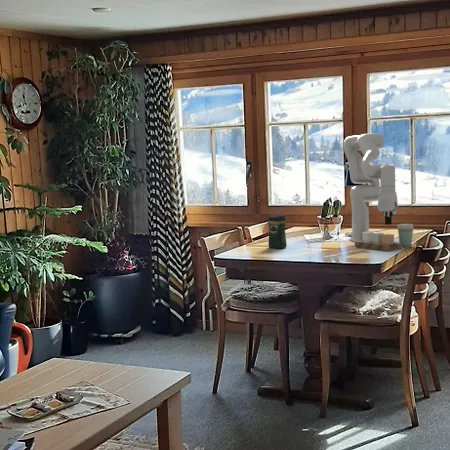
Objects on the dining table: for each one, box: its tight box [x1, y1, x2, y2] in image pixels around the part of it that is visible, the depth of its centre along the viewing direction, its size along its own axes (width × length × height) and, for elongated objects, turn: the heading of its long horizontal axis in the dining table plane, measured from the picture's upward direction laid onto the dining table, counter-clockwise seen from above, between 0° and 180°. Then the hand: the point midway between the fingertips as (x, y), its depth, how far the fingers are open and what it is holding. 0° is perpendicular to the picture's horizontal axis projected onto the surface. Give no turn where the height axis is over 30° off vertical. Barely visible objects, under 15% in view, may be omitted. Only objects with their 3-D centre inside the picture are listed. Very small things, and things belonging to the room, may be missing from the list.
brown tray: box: [354, 240, 403, 252], centre depth 356 cm, size 22×12×3 cm, turn 33°
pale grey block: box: [362, 230, 375, 242], centre depth 362 cm, size 4×4×5 cm
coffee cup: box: [396, 223, 414, 249], centre depth 357 cm, size 8×8×12 cm
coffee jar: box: [267, 213, 287, 250], centre depth 366 cm, size 10×8×19 cm
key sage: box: [372, 232, 385, 243], centre depth 356 cm, size 4×4×5 cm
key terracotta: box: [382, 233, 395, 245], centre depth 350 cm, size 4×4×5 cm
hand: (388, 224), depth 349 cm, fingers closed
